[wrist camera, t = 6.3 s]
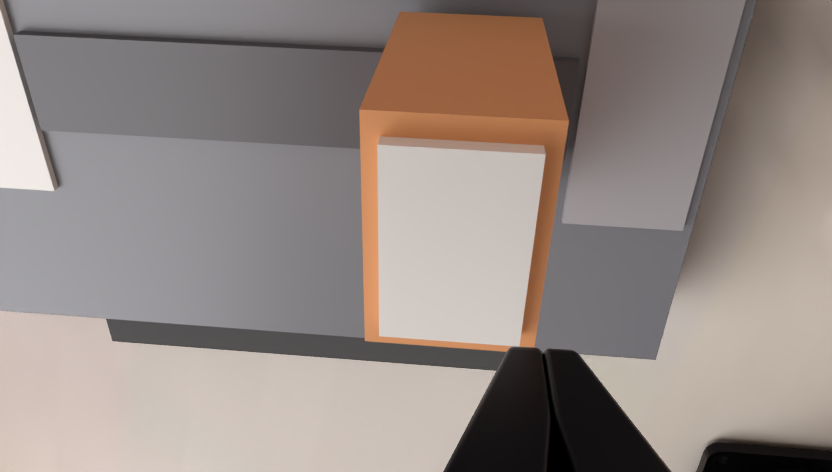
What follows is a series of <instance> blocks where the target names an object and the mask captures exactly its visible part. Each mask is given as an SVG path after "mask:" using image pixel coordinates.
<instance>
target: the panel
mask: <svg viewBox="0 0 832 472" xmlns="http://www.w3.org/2000/svg"><path fill="white" fill-rule="evenodd" d="M756 2H757V0H0V311H11V312H24V313H38V314H51V315H64V316H78V317H91V318H104V319H118V320H131V321H144V322H158V323H171V324H185V325H198V326H211V327H225V328H238V329H251V330H265V331H278V332H291V333H305V334H318V335H331V336H345V337H358V338H365V327H364V285H363V243H362V202H361V160H360V118H359V109H360V107H361V104H362V102H363V99H364V97H365V95H366V92H367V90H368V87H369V85H370V82H371V80H372V78H373V75H374V73H375V70H376V68H377V65H378V63H379V61H380V58H381V56H382V53H383V51H384V49H385V46H386V44H387V41H388V39H389V36H390V34H391V32H392V29H393V27H394V24H395V22H396V20H397V17H398V15H399V12H400V11H402V12H424V13H446V14H468V15H490V16H512V17H534V18H542V19H543V22H544V26H545V30H546V34H547V38H548V42H549V46H550V50H551V53H552V57H553V61H554V65H555V69H556V73H557V77H558V80H559V84H560V88H561V92H562V96H563V100H564V104H565V107H566V111H567V115H568V119H569V124H568V131H567V137H566V144H565V150H564V157H563V163H562V170H561V177H560V183H559V190H558V196H557V203H556V209H555V216H554V222H553V229H552V236H551V242H550V249H549V255H548V262H547V268H546V275H545V281H544V288H543V295H542V301H541V308H540V314H539V321H538V327H537V334H536V341H535V348H539V349H540V350H541V351H544V350H545V349H547V348H552V349H569V350H574V351H576V352H577V353H578V354H585V355H599V356H612V357H625V358H639V359H652V360H656V356H657V353H658V349H659V346H660V342H661V339H662V335H663V332H664V328H665V324H666V321H667V317H668V314H669V310H670V307H671V303H672V300H673V296H674V293H675V289H676V285H677V282H678V278H679V275H680V271H681V268H682V264H683V261H684V257H685V254H686V250H687V247H688V243H689V239H690V236H691V232H692V229H693V225H694V222H695V218H696V215H697V211H698V208H699V204H700V200H701V197H702V193H703V190H704V186H705V183H706V179H707V176H708V172H709V169H710V165H711V161H712V158H713V154H714V151H715V147H716V144H717V140H718V137H719V133H720V130H721V126H722V122H723V119H724V115H725V112H726V108H727V105H728V101H729V98H730V94H731V91H732V87H733V83H734V80H735V76H736V73H737V69H738V66H739V62H740V59H741V55H742V52H743V48H744V45H745V41H746V37H747V34H748V30H749V27H750V23H751V20H752V16H753V13H754V9H755V6H756Z"/></svg>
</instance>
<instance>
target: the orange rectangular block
mask: <svg viewBox="0 0 832 472" xmlns="http://www.w3.org/2000/svg"><path fill="white" fill-rule="evenodd" d="M359 118H360V160H361V202H362V243H363V285H364V327H365V341H370V342H383V343H397V344H410V345H423V346H436V347H450V348H463V349H476V350H490V351H503V352H507V350H508V349H509V348H510V347H512V346H519V347H535V341H536V334H537V327H538V321H539V314H540V308H541V301H542V295H543V288H544V281H545V275H546V268H547V262H548V255H549V249H550V242H551V236H552V229H553V222H554V216H555V209H556V203H557V196H558V190H559V183H560V177H561V170H562V163H563V157H564V150H565V144H566V137H567V131H568V124H569V119H568V115H567V111H566V107H565V104H564V100H563V96H562V92H561V88H560V84H559V80H558V77H557V73H556V69H555V65H554V61H553V57H552V53H551V50H550V46H549V42H548V38H547V34H546V30H545V26H544V22H543V19H542V18H534V17H512V16H490V15H468V14H446V13H424V12H402V11H400V12H399V15H398V17H397V20H396V22H395V24H394V27H393V29H392V32H391V34H390V36H389V39H388V41H387V44H386V46H385V49H384V51H383V53H382V56H381V58H380V61H379V63H378V65H377V68H376V70H375V73H374V75H373V78H372V80H371V82H370V85H369V87H368V90H367V92H366V95H365V97H364V99H363V102H362V104H361V107H360V109H359Z"/></svg>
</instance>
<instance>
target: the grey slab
mask: <svg viewBox="0 0 832 472" xmlns="http://www.w3.org/2000/svg"><path fill="white" fill-rule="evenodd" d="M106 320H107V323H108V327H109V330H110V334H111V337H112V341H118V342H131V343H144V344H157V345H170V346H183V347H196V348H209V349H222V350H235V351H248V352H261V353H274V354H287V355H300V356H313V357H326V358H339V359H352V360H365V361H378V362H391V363H404V364H417V365H430V366H443V367H456V368H469V369H482V370H495V371H497V369H498V367H499V365H500V363H501V362H502V360H503V358H504V356H505V354H506V352H503V351H490V350H476V349H463V348H450V347H436V346H423V345H410V344H397V343H383V342H370V341H365V338H358V337H345V336H331V335H318V334H305V333H291V332H278V331H265V330H251V329H238V328H225V327H211V326H198V325H185V324H171V323H158V322H144V321H131V320H118V319H106ZM542 352H543V351H542Z"/></svg>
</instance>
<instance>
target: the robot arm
mask: <svg viewBox="0 0 832 472" xmlns="http://www.w3.org/2000/svg"><path fill="white" fill-rule="evenodd" d="M443 472H671V471H670V469H669V468H668V467H667V466H666V464H665V463H664V462H663V461H662V459H661V458H660V457H659V455H658V454H657V453H656V452H655V450H654V449H653V448H652V447H651V445H650V444H649V443H648V441H647V440H646V439H645V438H644V436H643V435H642V434H641V433H640V431H639V430H638V429H637V428H636V426H635V425H634V424H633V422H632V421H631V420H630V419H629V417H628V416H627V415H626V414H625V412H624V411H623V410H622V408H621V407H620V406H619V405H618V403H617V402H616V401H615V400H614V398H613V397H612V396H611V395H610V393H609V392H608V391H607V389H606V388H605V387H604V386H603V384H602V383H601V382H600V381H599V379H598V378H597V377H596V375H595V374H594V373H593V372H592V370H591V369H590V368H589V367H588V365H587V364H586V363H585V362H584V360H583V359H582V358H581V356H580V355H579V354H578V353H577V352H576V351H574V350H569V349H552V348H547V349H545V350H544V351H543V352H542V351H541V350H540V349H539V348H535V347H519V346H512V347H510V348H509V349H508V350H507V352H506V354H505V356H504V358H503V360H502V362H501V363H500V365H499V367H498V369H497V371H496V373H495V375H494V377H493V379H492V381H491V382H490V384H489V386H488V388H487V390H486V392H485V394H484V396H483V398H482V399H481V401H480V403H479V405H478V407H477V409H476V411H475V413H474V415H473V416H472V418H471V420H470V422H469V424H468V426H467V428H466V430H465V432H464V434H463V435H462V437H461V439H460V441H459V443H458V445H457V447H456V449H455V451H454V452H453V454H452V456H451V458H450V460H449V462H448V464H447V466H446V468H445V470H444V471H443ZM696 472H832V452H828V451H816V450H803V449H791V448H779V447H767V446H754V445H742V444H730V443H714V444H711V445H709V446H708V447H706V449H705V450H704V452H703V455H702V458H701V461H700V463H699V466H698V469H697V471H696Z"/></svg>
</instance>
